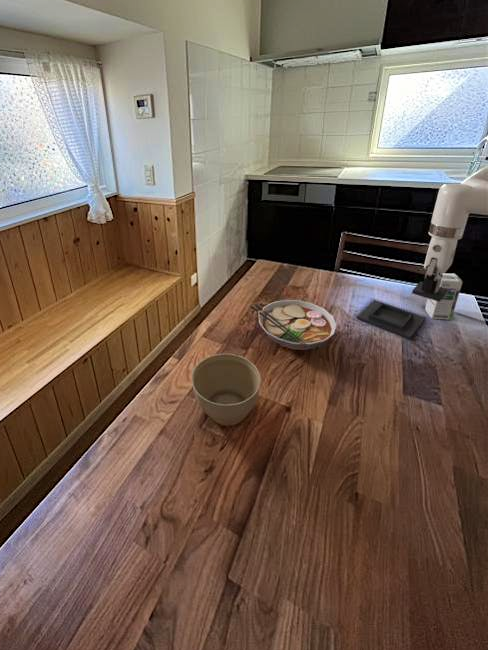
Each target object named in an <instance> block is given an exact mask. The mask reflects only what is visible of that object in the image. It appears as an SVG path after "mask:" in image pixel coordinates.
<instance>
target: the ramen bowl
mask: <svg viewBox="0 0 488 650" xmlns="http://www.w3.org/2000/svg"><path fill="white" fill-rule="evenodd" d="M250 309H252V310H253V311H255V312H256V313H257V314H258V323H259V325H260V327H261V328H262V331H264V333H265V334H266V335H267V336H268V338H269V339H270V340H272V341H273V342H274V343H276V344H278V345H280V346H281V347H284V348H288V349H292V350H298V351H299V350H300V351H301V350H302V351H306V350H308V351H310V350H312V349H315V348H318V347H320V346H321V345H322V344H325V342H327V340H329V339H331V338H332V337H333V336H334V335H335V331H336V328H337V322H336V321H335V319H334V316H333V315H332V314H331V313H330V312H328V311H327V309H325V308H324V307H321V306H319V305H316V304H314V303H312V302H308V301H304V300H299V299H283V300H277V301H274V302H271V303H269V304H267V305H265V306H263V307H262V306H260V305H259V304H258V303H255V304H254V305H252V304H251V305H250Z"/></svg>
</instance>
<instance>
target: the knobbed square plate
mask: <svg viewBox="0 0 488 650" xmlns="http://www.w3.org/2000/svg"><path fill="white" fill-rule="evenodd" d="M433 274H435V273H433ZM425 275H426V273H425V274H424V276H425ZM441 280H442V277H441V276H440V275H438V278H437V281H438V282H437V286H436V289H435V292H434V293H430V292H427V291H423V290H422V285H423V281H419V283H417V285H416V286H415V287H414V288H413V289H412V292H411V294H413V295H416V296H419V297H422V298H426V299H428V298H429V299H432V300H435V301H439V302H440V301H441V299H442V298H443V297H444V295H445V294H446V292H447V289H446V288H442V287H440V284H441Z"/></svg>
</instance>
